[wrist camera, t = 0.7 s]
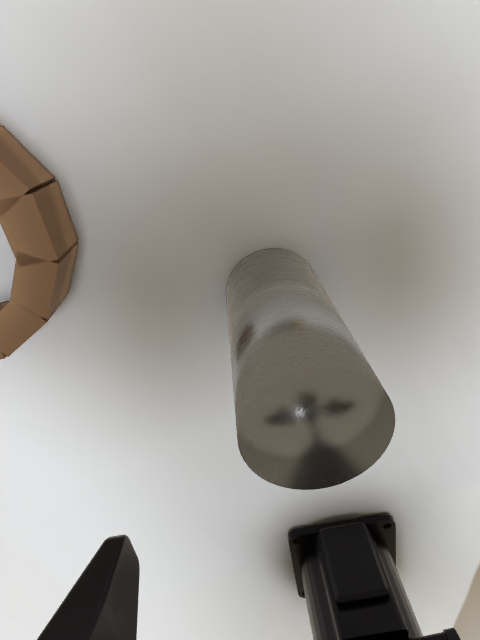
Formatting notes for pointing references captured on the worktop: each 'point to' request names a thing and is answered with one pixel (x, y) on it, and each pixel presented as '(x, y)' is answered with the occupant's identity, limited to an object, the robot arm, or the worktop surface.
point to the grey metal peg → (300, 378)
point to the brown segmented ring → (32, 243)
